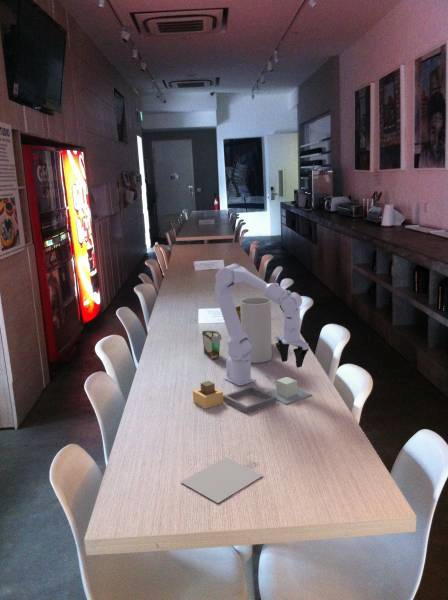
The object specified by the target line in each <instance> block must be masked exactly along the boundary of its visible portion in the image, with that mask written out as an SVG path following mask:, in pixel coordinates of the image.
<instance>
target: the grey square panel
mask: <svg viewBox="0 0 448 600" xmlns="http://www.w3.org/2000/svg"><path fill="white" fill-rule="evenodd" d="M263 476H264V474H262V473H260V472H258V471H255V470H253V469H251V468H249V467H247V466H246V465H243V464H241V463H239V462H236V461H234V460H233V459H230V458H229V457H224V458H222V459H219V460H218V461H217V462H214V463H212V464H211V465H208V466H206V467H205V468H203V469H201V470H200V471H198V472H196V473H194V474H192V475H190V476H189V477H187V478H185V479H183V480H181V481H180V483H182V484H183V485H185V486H186V487H189V488H190V489H192V490H193V491H195V492H197V493H199V494H200V495H202V496H205V497H206V498H208V499H210V500H211V501H213V502H215V503H217V504H219V503H221V502H223V501H224V500H226V499H227V498H229V497H230V496H232V495H234V494H235V493H237V492H238V491H240V490H242V489H243V488H245V487H247V486H248V485H250V484H252V483H253V482H254V481H257V480H258V479H260V478H261V477H263Z"/></svg>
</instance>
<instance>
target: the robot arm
mask: <svg viewBox="0 0 448 600" xmlns="http://www.w3.org/2000/svg"><path fill="white" fill-rule="evenodd" d="M214 278H215V285H214V293H215V296H216V299H217V302H218V305H219V309H220V311H221V314H222V319H223V320H224V325H225V327H226V331H227V334H228V339H227V347H228V349H227V353H228V358H227V360H226V362H225V363H226V364H225V367H226V368H225V369H226V376H225V377H224V380H227V381H229V382H231V383H232V384H235V385H237V386H239V387H241V386H243V385H247V384H250V383H253V382H255V381H256V380H257V379H256V378H254V377H252V367H251V364H252V363H251V357H250V352H252V350H253V344H252V342H251V341H250V339H249V338H248V335H247V334H246V333H245V332H243V330H242V327H241V323H240V320H239V317H238V314H237V311H236V308H235V307H236V304H235V302H234V298H233V296H232V292H231V291H232V289H233V287H234V286H235V285H236V284H238V283H239V284H240V283H244V284H246V285H248V286H251V287H252V288H255V289H257V290H259V291H260V292H263V294H264V295H263V296H264V298H268V299H270V300H271V302H274V303H275V304H277V305H279V306H280V308H281V309H282V311H283V334H277V335H276V336H275V341H276V343H275V347H276V348H277V350H278V353H279V356H280V360H281V362H282V363H284V362H288V358H289V357H288V356H289V347H290V345H291V346H294V347H296V348H293V349H292V351H293V353H294V357H295V366H296V368H297V369H299V368H302V367H303V363H304V360H305V358H306V356H307V353H308V351H309V343H307V342H306V341H304V340H303V339H301V314H300V313H301V311H300V310H301V308H300V307H301V305H302V304H303V298H302V296H301V295H300V293H298V292H295V291H293V292H291V290H289V289H288V290H287V289H286V288H284V287H281V286H280V284H279V283H277V282H275V283H274V282H271V283H267V282H266V281H265V280H263V279H261V278H260V277H258V276H256V274H254V273H252V272H250V271H249V270H248V269H247V268H245V267H244V266H241V265H240V264H239V263H231V264H230V265H226V266H224V267H221V268H220V269H218V271H217V272H216V274H215V276H214Z"/></svg>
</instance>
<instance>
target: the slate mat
mask: <svg viewBox="0 0 448 600" xmlns="http://www.w3.org/2000/svg"><path fill="white" fill-rule="evenodd" d="M265 392H266V393H268V394H270V395H272V396H275V397H276V402H277V401H278V402H280V403H282V404H284V405H289V404H292V403H295V402H297V401H301V400H303V399H305V398H308V397H312V393H309V392H307V391H305V390H302V389H299V388H298V387H297V394H296V395H293V396H290V397H288V398H285V397H283V396H281V395H279V394H277V387H276V388H274V389H271V390H268V391H265Z"/></svg>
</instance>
